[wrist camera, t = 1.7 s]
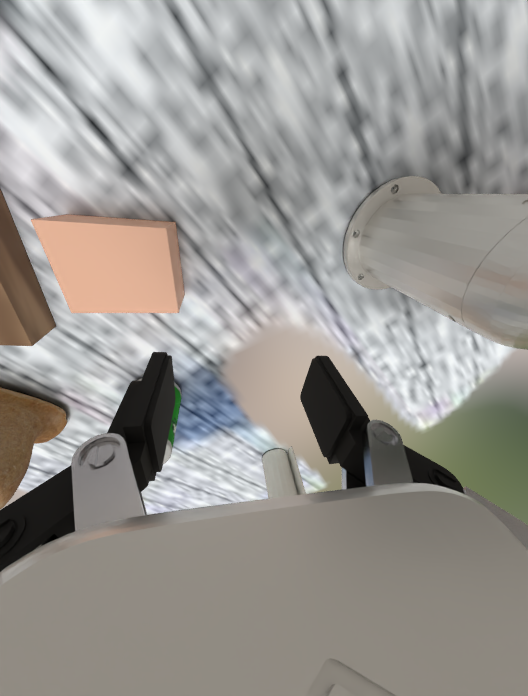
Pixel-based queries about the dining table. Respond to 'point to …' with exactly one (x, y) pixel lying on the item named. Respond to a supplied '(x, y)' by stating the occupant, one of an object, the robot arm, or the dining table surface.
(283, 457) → the paper towel roll
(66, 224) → the brick
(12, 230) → the board
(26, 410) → the tan boot-shaped piece
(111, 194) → the dining table surface
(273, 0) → the dining table surface
